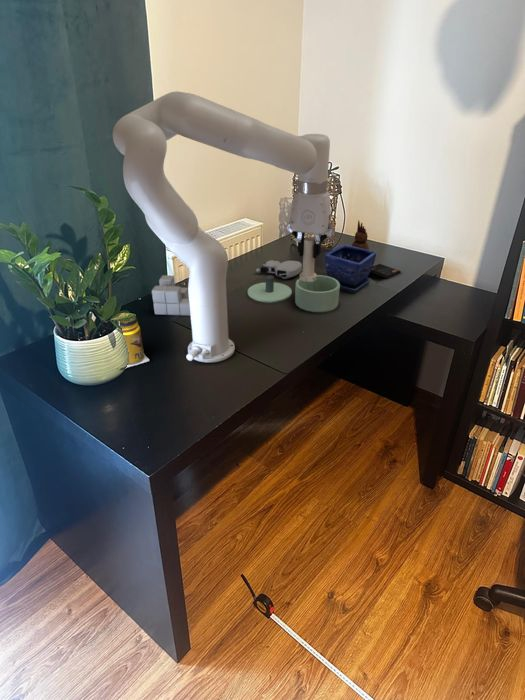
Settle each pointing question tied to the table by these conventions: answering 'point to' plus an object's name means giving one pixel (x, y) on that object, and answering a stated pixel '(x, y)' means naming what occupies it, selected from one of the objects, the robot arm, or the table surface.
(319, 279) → the bowl
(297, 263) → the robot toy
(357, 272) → the flower pot
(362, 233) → the wooden figurine
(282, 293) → the lid
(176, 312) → the puzzle cube
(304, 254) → the beige flanged cylinder
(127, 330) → the condiment
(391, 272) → the calculator
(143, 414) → the table surface
